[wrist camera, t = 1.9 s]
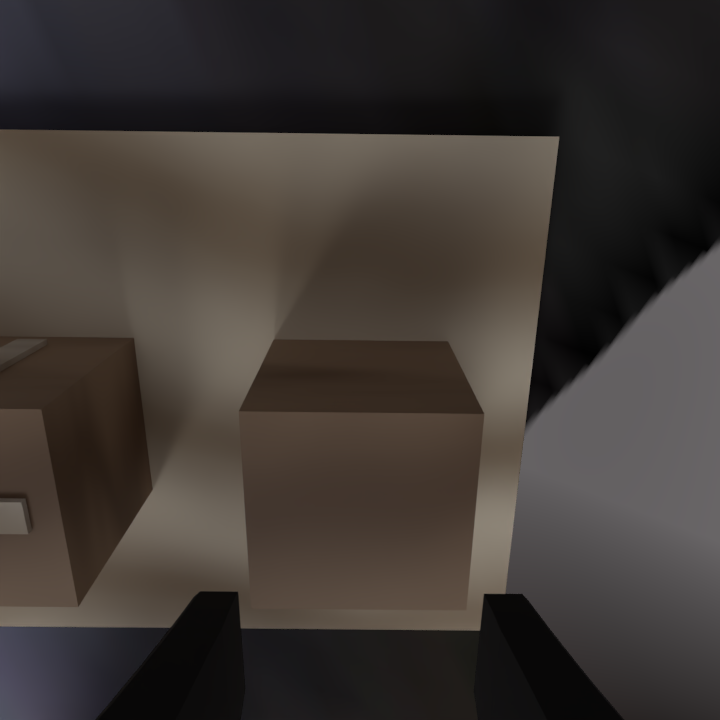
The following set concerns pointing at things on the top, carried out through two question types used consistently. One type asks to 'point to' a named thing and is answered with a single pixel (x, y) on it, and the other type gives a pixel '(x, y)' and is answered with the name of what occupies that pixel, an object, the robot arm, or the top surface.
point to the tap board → (272, 316)
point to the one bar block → (67, 463)
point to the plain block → (360, 476)
